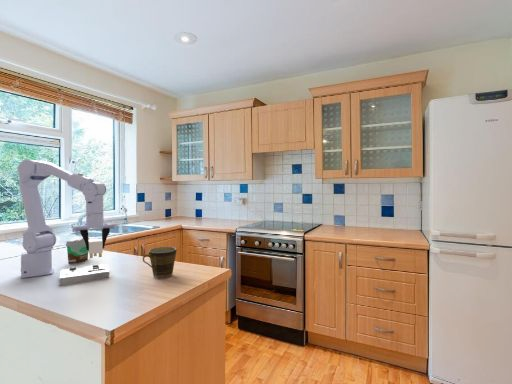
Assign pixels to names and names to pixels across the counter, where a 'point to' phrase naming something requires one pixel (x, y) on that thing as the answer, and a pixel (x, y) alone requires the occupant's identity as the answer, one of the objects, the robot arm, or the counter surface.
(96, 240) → the plug
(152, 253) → the ceramic cup
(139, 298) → the counter surface
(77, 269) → the socket
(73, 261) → the food container
